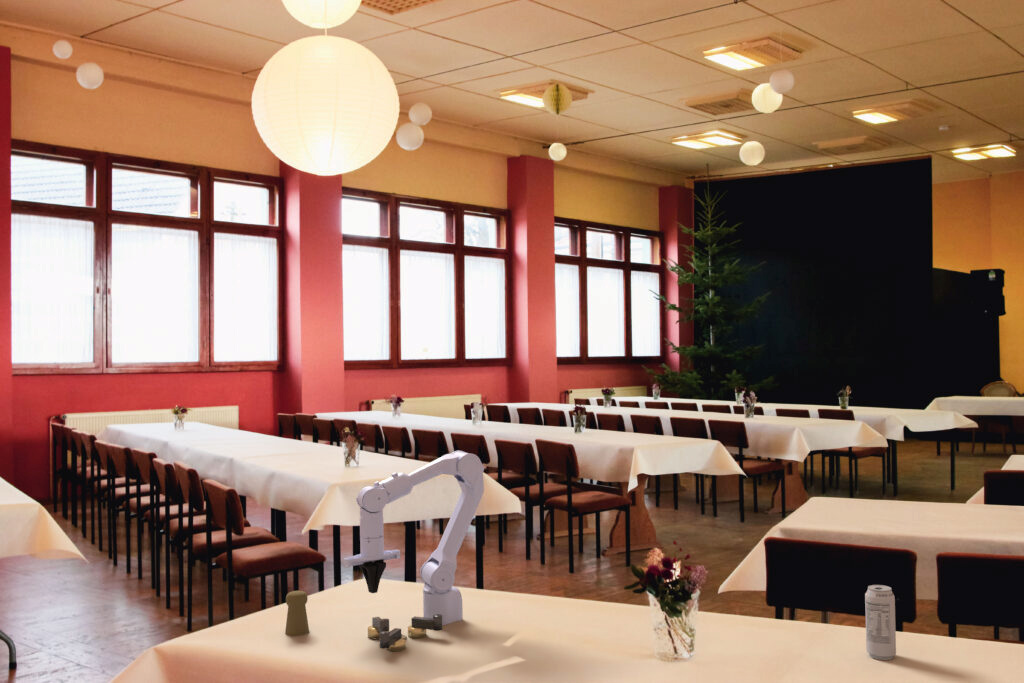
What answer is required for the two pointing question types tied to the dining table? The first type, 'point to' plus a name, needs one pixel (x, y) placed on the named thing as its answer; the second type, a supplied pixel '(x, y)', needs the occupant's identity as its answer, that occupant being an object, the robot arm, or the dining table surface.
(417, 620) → the knob
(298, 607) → the cork
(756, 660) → the dining table surface
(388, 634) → the knob
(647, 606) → the dining table surface
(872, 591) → the energy drink can
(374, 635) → the knob
